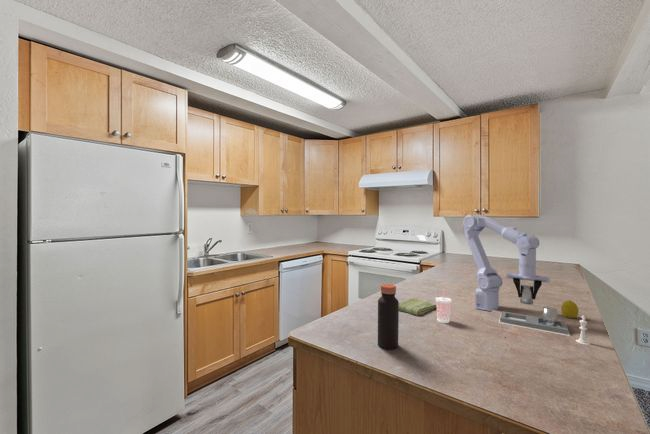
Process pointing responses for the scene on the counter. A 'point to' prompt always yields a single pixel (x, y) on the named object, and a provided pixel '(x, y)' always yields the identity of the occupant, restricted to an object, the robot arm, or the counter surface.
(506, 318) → the grey rectangular tray
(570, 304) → the lemon
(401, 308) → the washcloth
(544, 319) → the cylinder
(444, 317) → the beverage cup
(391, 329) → the bottle
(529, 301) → the cylinder
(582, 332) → the chess piece
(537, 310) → the counter surface
